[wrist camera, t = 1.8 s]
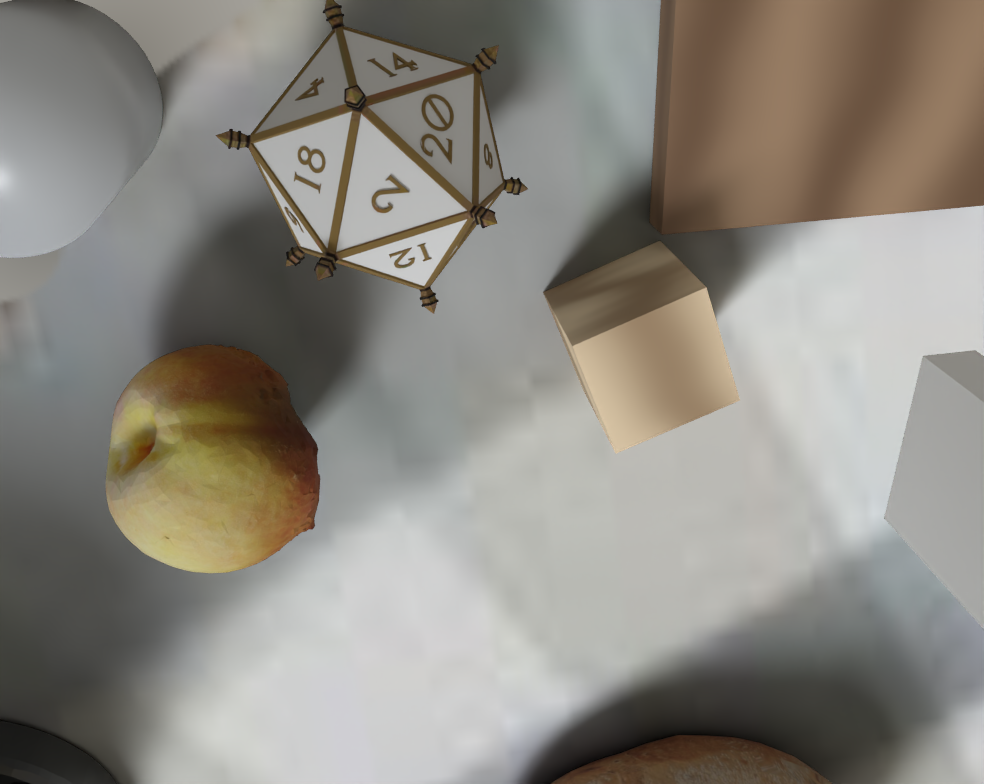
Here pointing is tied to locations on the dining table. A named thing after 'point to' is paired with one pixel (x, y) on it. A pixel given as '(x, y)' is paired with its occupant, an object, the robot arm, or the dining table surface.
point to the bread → (696, 764)
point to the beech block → (643, 344)
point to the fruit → (210, 461)
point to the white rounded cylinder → (68, 120)
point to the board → (815, 110)
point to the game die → (381, 156)
